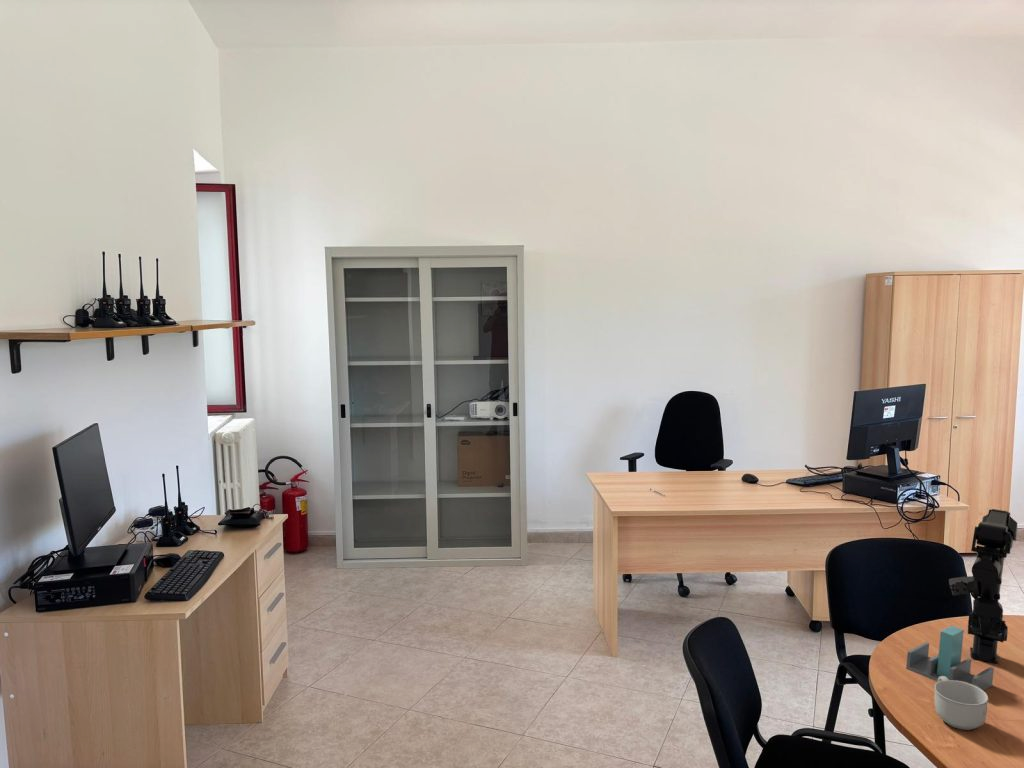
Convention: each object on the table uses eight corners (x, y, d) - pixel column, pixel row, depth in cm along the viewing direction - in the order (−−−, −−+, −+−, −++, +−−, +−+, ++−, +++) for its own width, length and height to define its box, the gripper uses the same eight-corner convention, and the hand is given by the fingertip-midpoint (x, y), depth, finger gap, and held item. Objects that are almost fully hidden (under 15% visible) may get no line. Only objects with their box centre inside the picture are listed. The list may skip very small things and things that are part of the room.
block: (947, 668, 198) (951, 625, 197) (959, 672, 196) (963, 629, 195) (936, 674, 195) (940, 631, 194) (948, 679, 193) (952, 635, 191)
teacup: (993, 738, 168) (996, 705, 167) (941, 732, 170) (944, 699, 169) (968, 705, 182) (971, 675, 181) (920, 700, 184) (923, 670, 183)
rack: (924, 658, 205) (926, 642, 205) (992, 685, 191) (993, 667, 191) (906, 668, 200) (907, 651, 199) (974, 696, 186) (975, 678, 185)
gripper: (951, 555, 205) (946, 609, 207) (953, 577, 189) (948, 635, 191) (999, 563, 200) (993, 618, 202) (1005, 586, 183) (999, 645, 185)
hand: (982, 628), depth 195 cm, fingers open, 9 cm apart
